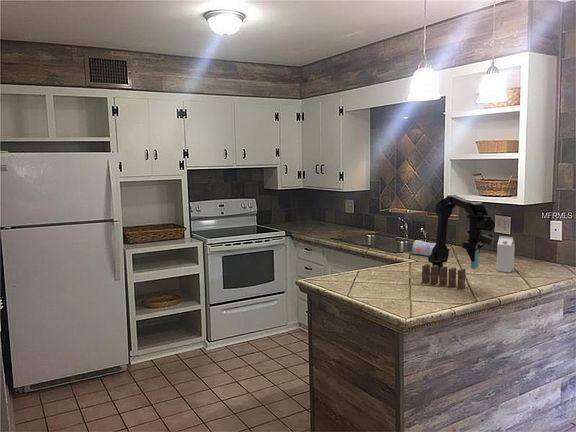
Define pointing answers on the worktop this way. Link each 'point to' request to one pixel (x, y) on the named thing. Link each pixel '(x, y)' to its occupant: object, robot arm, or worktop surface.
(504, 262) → the milk carton
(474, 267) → the teal domino
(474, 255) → the robot arm
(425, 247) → the pencil case
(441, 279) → the walnut domino
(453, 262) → the worktop surface
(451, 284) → the walnut domino
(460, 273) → the walnut domino
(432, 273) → the walnut domino
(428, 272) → the walnut domino
